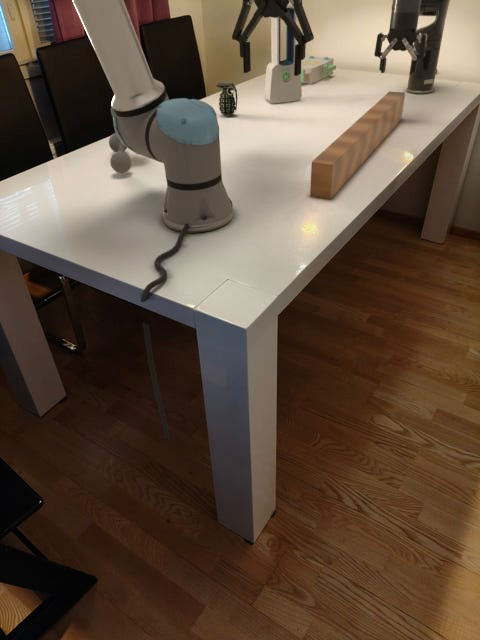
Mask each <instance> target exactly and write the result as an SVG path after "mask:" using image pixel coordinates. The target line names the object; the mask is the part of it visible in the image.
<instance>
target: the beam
mask: <svg viewBox="0 0 480 640" xmlns="http://www.w3.org/2000/svg"><path fill="white" fill-rule="evenodd" d="M405 98H406V92H404V91H403V92H402V91H388V92H387V93H386V94H385V95H384V96H383V97H381V98H380V99H379V100H378V101H377V102H376V103H375V104H374V105H372V106H371V107H370V108H369V109H368V110H367V111H365V112H364V113H363V114H362V115H361V117H359V119H357V120H355V122H354V123H352V125H350V127H348V128H347V129H346V130H345V131H343V133H342V134H341V135H339V136H338V137H337V138H336V139H335V140H334V141H332V143H331V144H330V145H328V146H327V147H326V148H325V149H324V150H322V152H320V154H318V155H317V156H316V157H315V158H314V159H313V160H312V161H311V169H310V189H309V190H310V191H309V195H310V196H309V197H315V198H319V199H320V198H321V199H326V200H332V198H333V197H334V196H335V195H336V194H337V193H338V192H339V190H340V189H341V188H342V187H344V185H345V184H346V182H348V180H349V179H350V178H351V177H352V176H353V175H354V173H355V172H356V171H358V169H359V168H360V167H361V166H362V165H363V164H364V162H366V160H367V159H368V158H369V157H370V156H371V154H372V153H373V152H374V151H375V150H376V149H377V148H378V146H379V145H381V144H382V142H383V141H384V140H385V139H386V137H388V135H389V134H390V133H391V132H392V131H393V130H394V128H396V126H397V125H398V124H399V123H400V122H401V121H402V119H403V118H402V117H403V112H404V105H405Z"/></svg>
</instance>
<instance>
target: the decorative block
mask: <svg viewBox="0 0 480 640" xmlns="http://www.w3.org/2000/svg"><path fill="white" fill-rule="evenodd" d="M336 69H337V65H336V64H334V58H333V57H328V56H324V57H321V56H320V57H319V56H314V55H310V56H308V57H305V58H304V59H303V60H301V74H300V76H301V84H310V85H312V84H314V83H316V82H319V81H321V80H324V79H326V78H328V77H330V75H331V74H333V73H334V70H335V71H336Z"/></svg>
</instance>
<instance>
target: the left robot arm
mask: <svg viewBox="0 0 480 640" xmlns="http://www.w3.org/2000/svg"><path fill="white" fill-rule="evenodd" d="M71 1H72V3H73V5H74V8H75V10H76V12H77V14H78V17H79V19H80V21H81V23H82V25H83V28H84V30H85V32H86V35H87V37H88V39H89V41H90V43H91V45H92V47H93V50H94V52H95V54H96V57H97V58H98V61H99V63H100V65H101V68H102V70H103V72H104V74H105V77H106V79H107V81H108V83H109V86H110V87H111V89H112V92H113V97H112V100H111V105H112V108H113V110H114V114H115V117H114V119H113V118H112V122H113V128H114V133H116V135H117V137H118V138H119V140H120V141H121V142H122V143H123V144H124V145H125V146H126V147H127V149H129V150H130V152H131V151H132V152H133V153H135V154H137V155H141V156H143V157H145V158H149V159H152V160H153V161H155V162H159V163H162V164H163V168H164V173H165V180H166V190H165V191H166V192H165V196H164V203H163V207H162V218H163V222H164V224H165V226H167V227H168V228H169V229H171V230H173V231H177V232H180V234H179V236H178V238H177V240H176V242H175V244H174V246H172V248H171V249H169V250H167V251H165V252H163V253H161V254H159V255H158V256H157V257H156V258H155V260H154V267H155V268H156V270H157V271H159V272H160V274H161V275H160V277H158V278H156V279H154V280H153V281H151V282H149V283H148V284H147V285H146V286H145V287H144V289H143V291H142V293H141V297H140V302H141V303H145V302H147V299H148V295H149V294H150V292H151V291H152V290H153V289H154V288H155V287H157V286H159V285H161V284H162V283H164V282H165V281H166V280H167V276H168V273H167V270H166V269H165V267H164V266H162V264H161V262H162V261H163V260H164V259H166V258H168V257H170V256H173V255H174V254H175V253H177V251H178V250H179V248H180V247H181V246H182V244H183V243H182V242H183V240H184V238H185V235H186V234H187V233H190V234H191V233H192V234H193V233H194V234H195V233H196V234H197V233H205V232H206V233H207V232H210V231H215V230H216V229H220V228H222V227H224V226H226V225H227V224H228V223H230V221H231V220H232V218H233V216H234V212H233V211H234V210H233V206H234V205H233V202H232V200H231V198H230V197H229V195H228V192H227V190H226V187H225V184H224V182H223V175H222V174H223V173H222V158H221V142H220V141H221V140H220V126H219V122H218V121H219V120H218V115H217V111H216V110H215V108H214V107H213V106H211V104H209V103H208V102H205V101H203V100H200V99H195V98H192V99H189V98H186V97H183V98H179V97H178V98H172V99H170V98H169V96H168V93H167V90H166V87H165V85H164V83H163V82H162V81H159V80H157V79H156V78H154V77H153V74H152V72H151V69H150V66H149V63H148V60H147V58H146V56H145V53H144V51H143V48H142V46H141V42H140V40H139V37H138V35H137V33H136V30H135V27H134V24H133V22H132V19H131V16H130V14H129V10H128V9H127V6H126V3H125V0H71ZM254 4H255V6H256V10H255V12H254V13H253V16H252V17H251V19H250V20H249V22H248V24H247V25H246V22H247V19H248V17H249V14H250V12H251V7H252V6H253V5H254ZM287 5H291V6H293V7H294V10H295V13H296V19H297V21H298V23H299V26H300V27H299V26H298V24H297V22H296V23H295V21H294V19H293V18H292V16H291V14H290V12H289V10H288V9H287ZM271 17H273V18H277V17H280V20H282V21H283V22H284V24H285V26H286V25H287V27H288V28H289V30H290V31H291V33H292V35H293V36H294V38H295V39H296V45H295V63H294V76H298V75H299V74H301V60H303V59H305V58H306V45H307V44H308V43H309V42H312V41H313V40H314V39H315V36H314V33H313V30H312V28H311V25H310V22H309V19H308V17H307V13H306V11H305V9H304V6H303V0H242V5H241V9H240V11H239V15H238V17H237V20H236V23H235V26H234V29H233V32H232V36H231V39H232V40H233V41H236V42H238V43H239V58H242V63H243V64H242V67H243V69H242V70H243V74H248V73H249V72H250V73H251V71H252V65H251V63H252V61H251V42H250V41H249V38H250V36H251V35H252V33H253V32H254V30H255V29H256V27H257V26H258V24H259V22H261V20H262V18H264V19H267V18H271ZM245 25H246V27H245ZM244 28H245V29H244ZM111 105H110V106H111ZM142 326H143V334H144V335H143V336H144V342H145V350H146V356H147V362H148V367H149V372H150V378H151V383H152V387H153V391H154V395H155V400H156V403H157V408H158V411H159V415H160V419H161V424H162V428H163V433H164V438H165V439H167V440H169V439H170V437H171V435H170V431H169V425H168V420H167V415H166V412H165V408H164V404H163V400H162V399H163V398H162V395H161V391H160V386H159V381H158V377H157V371H156V366H155V361H154V360H155V359H154V355H153V348H152V341H151V332H150V325H149V323H146V322H142Z"/></svg>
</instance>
